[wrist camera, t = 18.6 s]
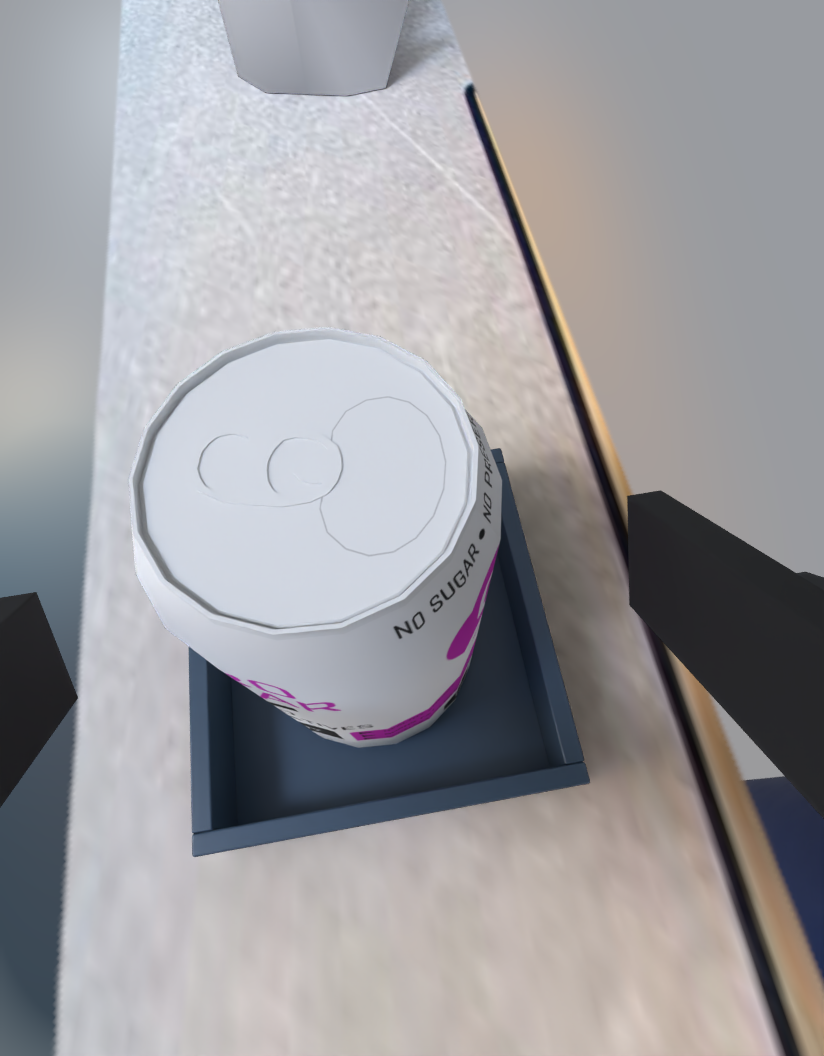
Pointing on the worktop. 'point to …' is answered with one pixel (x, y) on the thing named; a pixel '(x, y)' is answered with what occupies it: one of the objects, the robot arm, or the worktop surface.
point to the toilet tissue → (314, 43)
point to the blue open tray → (399, 769)
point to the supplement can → (321, 528)
